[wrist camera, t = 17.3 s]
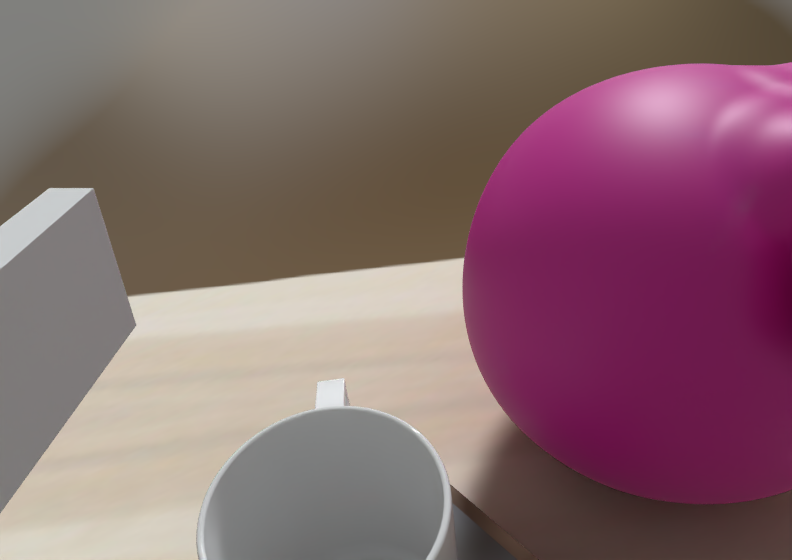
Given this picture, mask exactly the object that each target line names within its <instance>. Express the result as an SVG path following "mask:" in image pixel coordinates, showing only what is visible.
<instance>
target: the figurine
mask: <svg viewBox="0 0 792 560" xmlns="http://www.w3.org/2000/svg"><path fill="white" fill-rule="evenodd" d="M463 308H464V317H465V323H466V328H467V333H468V337H469V341H470V345H471V348H472V351H473V354H474V357H475V360H476V362H477V365H478V367H479V369H480V372H481V374H482V376H483V378H484V380H485V382H486V384H487V386H488V387H489V389H490V391H491V392H492V394H493V396H494V397H495V399H496V400H497V402H498V403H499V405H500V406H501V407H502V409H503V410H504V411H505V413H506V414H507V415H508V416H509V417H510V419H511V420H512V421H513V422H514V423H515V424H516V425H517V426H518V427H519V429H520V430H521V431H522V432H523V433H525V434H526V435H527V436H528V437H529V438H530V439H531V440H532V441H533V442H534V443H536V444H537V445H538V446H539V447H541V448H542V449H543V450H544V451H546V452H547V453H548V454H550V455H551V456H552V457H554V458H555V459H557V460H558V461H560V462H561V463H563V464H565V465H566V466H568V467H569V468H571V469H573V470H575V471H576V472H578V473H580V474H582V475H584V476H586V477H588V478H590V479H592V480H594V481H596V482H599V483H601V484H603V485H606V486H608V487H611V488H614V489H616V490H619V491H622V492H626V493H629V494H632V495H636V496H640V497H644V498H649V499H654V500H660V501H666V502H674V503H685V504H727V503H737V502H745V501H751V500H757V499H762V498H766V497H770V496H774V495H777V494H781V493H784V492H787V491H790V490H792V62H791V63H785V64H779V65H770V66H742V65H741V66H740V65H721V64H680V65H670V66H661V67H655V68H649V69H644V70H639V71H635V72H631V73H627V74H623V75H620V76H617V77H613V78H611V79H608V80H605V81H602V82H600V83H597V84H595V85H592V86H590V87H588V88H586V89H583V90H581V91H580V92H578V93H576V94H574V95H572V96H570V97H568V98H567V99H565V100H563V101H562V102H560V103H558V104H557V105H555V106H554V107H552V108H551V109H550V110H549V111H547V112H546V113H544V114H543V115H542V116H541V117H539V118H538V119H537V120H536V121H535V122H533V123H532V124H531V125H530V126H529V127H528V128H527V129H526V130H525V131H524V132H523V133H522V134H521V135H520V136H519V137H518V139H517V140H516V141H515V142H514V143H513V144H512V146H511V147H510V148H509V149H508V151H507V152H506V154H505V155H504V156H503V158H502V159H501V161H500V162H499V164H498V165H497V167H496V169H495V170H494V172H493V174H492V175H491V177H490V179H489V181H488V183H487V185H486V187H485V189H484V191H483V194H482V196H481V198H480V201H479V204H478V206H477V209H476V212H475V215H474V218H473V221H472V224H471V228H470V232H469V237H468V241H467V246H466V252H465V258H464V267H463Z"/></svg>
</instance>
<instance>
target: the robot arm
mask: <svg viewBox="0 0 792 560" xmlns="http://www.w3.org/2000/svg"><path fill="white" fill-rule="evenodd" d="M135 326H136V323H135V320H134V317H133V313H132V310H131V307H130V304H129V301H128V297H127V294H126V291H125V288H124V285H123V281H122V278H121V275H120V272H119V269H118V266H117V262H116V259H115V256H114V252H113V249H112V246H111V243H110V240H109V237H108V233H107V230H106V227H105V224H104V221H103V217H102V214H101V211H100V208H99V204H98V201H97V198H96V195H95V192H94V188H49V189H48V190H46V191H45V192H44V193H43V194H41V195H40V196H39V197H38V198H36V199H35V200H34V201H32V202H31V203H30V204H28V205H27V206H26V207H25V208H23V209H22V210H21V211H20V212H18V213H17V214H16V215H14V216H13V217H12V218H11V219H9V220H8V221H7V222H5V223H4V224H3V225H2V226H0V513H1V512H2V510H3V509H4V507H5V506H6V505H7V503H8V502H9V500H10V499H11V498H12V496H13V495H14V494H15V492H16V491H17V489H18V488H19V487H20V485H21V484H22V482H23V481H24V480H25V478H26V477H27V476H28V474H29V473H30V471H31V470H32V469H33V467H34V466H35V465H36V463H37V462H38V460H39V459H40V458H41V456H42V455H43V453H44V452H45V451H46V449H47V448H48V447H49V445H50V444H51V442H52V441H53V440H54V438H55V437H56V435H57V434H58V433H59V431H60V430H61V429H62V427H63V426H64V424H65V423H66V422H67V420H68V419H69V418H70V416H71V415H72V413H73V412H74V411H75V409H76V408H77V406H78V405H79V404H80V402H81V401H82V400H83V398H84V397H85V395H86V394H87V393H88V391H89V390H90V388H91V387H92V386H93V384H94V383H95V382H96V380H97V379H98V377H99V376H100V375H101V373H102V372H103V371H104V369H105V368H106V366H107V365H108V364H109V362H110V361H111V359H112V358H113V357H114V355H115V354H116V353H117V351H118V350H119V348H120V347H121V346H122V344H123V343H124V341H125V340H126V339H127V337H128V336H129V335H130V333H131V332H132V330H133V329H134V328H135Z"/></svg>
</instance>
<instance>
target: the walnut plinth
mask: <svg viewBox="0 0 792 560" xmlns="http://www.w3.org/2000/svg"><path fill="white" fill-rule="evenodd" d="M450 487H451V496H452V505H453V515H454V524H455V534H456V543H457V553H458V560H539V559H538V558H536V557H535V556H534V555H533V554H532V553H530V552H529V551H528V550H527V549H526V548H525V547H523V546H522V545H521V544H520V543H519V542H517V541H516V540H515V539H514V538H513V537H512V536H510V535H509V534H508V533H507V532H506V531H505V530H503V529H502V528H501V527H500V526H499V525H497V524H496V523H495V522H494V521H493V520H492V519H490V518H489V517H488V516H487V515H486V514H485V513H483V512H482V511H481V510H480V509H479V508H477V507H476V506H475V505H474V504H473V503H472V502H470V501H469V500H468V499H467V498H466V497H464V496H463V495H462V494H461V493H460V492H459V491H457V490H456V489H455V488H454V487H453V486H452V485H450Z"/></svg>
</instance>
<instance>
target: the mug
mask: <svg viewBox="0 0 792 560" xmlns="http://www.w3.org/2000/svg"><path fill="white" fill-rule="evenodd" d="M196 544H197V554H198V559H199V560H458V553H457V543H456V534H455V524H454V515H453V505H452V496H451V487H450V483H449V478H448V475H447V472H446V469H445V466H444V464H443V462H442V460H441V458H440V456H439V455H438V453H437V452H436V450H435V448H434V447H433V446H432V445H431V443H430V442H429V441H428V440H427V439H426V438H425V437H424V436H423V435H422V434H421V433H420V432H419V431H417V430H416V429H415V428H414V427H412V426H411V425H409V424H408V423H406V422H405V421H403V420H401V419H399V418H397V417H395V416H393V415H390V414H388V413H385V412H382V411H378V410H374V409H370V408H364V407H356V406H350V403H349V398H348V394H347V389H346V384H345V379H344V378H341V379H334V380H327V381H320V382H317V394H316V404H315V409H312V410H308V411H304V412H301V413H298V414H295V415H292V416H289V417H287V418H285V419H282V420H280V421H278V422H276V423H274V424H272V425H270V426H269V427H267V428H265V429H263V430H262V431H260V432H259V433H257V434H256V435H254V436H253V437H252V438H250V439H249V440H248V441H247V442H245V443H244V444H243V445H242V446H241V447H240V448H239V449H238V450H237V451H235V453H234V454H233V455H232V456H231V457H230V458H229V459H228V460H227V461H226V463H225V464H224V465H223V466H222V468H221V469H220V470H219V472H218V473H217V475H216V476H215V478H214V480H213V481H212V483H211V485H210V487H209V489H208V491H207V493H206V495H205V498H204V500H203V503H202V506H201V509H200V514H199V518H198V524H197V535H196Z"/></svg>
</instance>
